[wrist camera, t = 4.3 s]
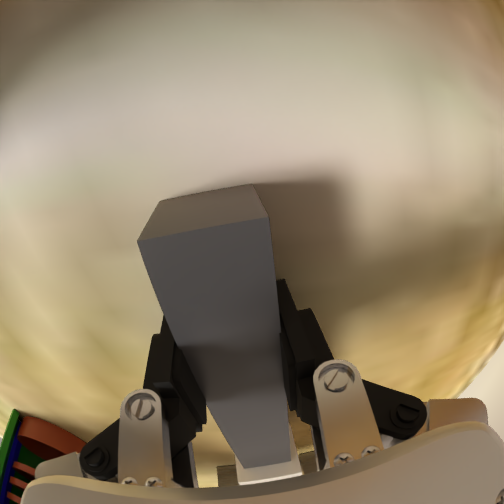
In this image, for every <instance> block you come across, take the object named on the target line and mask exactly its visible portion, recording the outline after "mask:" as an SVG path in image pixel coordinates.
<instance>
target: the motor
mask: <svg viewBox="0 0 504 504" xmlns="http://www.w3.org/2000/svg"><path fill="white" fill-rule="evenodd" d="M18 416H19V412H17V411H16V410H15V409H13V411H12V413H11V416H10V419H9V421H8V424H7V427H6V430H5V433H4V436H3V439H2V442H1V446H0V504H20V503H21V498H22V495H23V492H24V490H25V488H26V486H27V485H28V484H29V483H30V482H31V481H33V480H35V470H36V467H37V466H38V465H39V464H40V463H42V462H45V461H48V460H51V459H54V458H58V457H61V456H64V455H67V454H70V453H73V452H77V453H80V452H81V450H82V448H83V447H84V446H85V445H86V443H85V442H84V441H82V440H81V439H80V438H78V437H76V436H75V435H73V434H71V433H70V432H68V431H66V430H64V429H62V428H60V427H58V426H56V425H54V424H51V423H49V422H47V421H44V420H42V419H39V418H35V417H30V416H26V417H24V418H23V420H22V422H20V421H19V419H18Z"/></svg>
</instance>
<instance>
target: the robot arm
mask: <svg viewBox="0 0 504 504" xmlns="http://www.w3.org/2000/svg"><path fill="white" fill-rule="evenodd" d="M276 286H277V296H278V306H279V316H280V327H281V333H279V337H280V347H281V357H282V368H283V379H284V389H285V393H286V397H287V400H288V404H289V408H290V411H293V410H296V413H297V417H300V418H301V421H303V422H305V423H307V424H309V425H310V427H311V433H312V439H313V445H314V451H315V457H316V463H317V470H318V471H317V472H313V473H309V474H305V475H300V476H296V477H291V478H286V479H280V480H275V481H269V482H262V483H255V484H247V485H238V486H226V487H209V488H199V487H198V481H197V474H196V468H195V461H194V454H193V447H192V441H191V440H193V439H194V438H195V437H196V432H202V424H206V422H207V416H206V399H205V397H204V395H203V394H202V392H201V390H200V388H199V386H198V384H197V382H196V380H195V377H194V375H193V373H192V371H191V369H190V367H189V365H188V363H187V361H186V358H185V356H184V354H183V352H182V350H181V349H179V348H178V346H177V344H176V342H175V339H174V337H173V335H172V333H171V330H170V328H169V326H168V323H167V321H166V318H165V316H163V321H162V326H161V332H160V334H154V335H153V336H152V340H151V345H150V350H149V356H148V361H147V367H146V373H145V379H144V385H143V389H139V390H135V391H133V392H131V393H129V394H128V395H127V396H126V397H125V398H124V400H123V402H122V404H121V409H120V418H119V419H118V420H117V421H115V422H114V423H113V424H112V425H110V426H109V427H108V428H106V429H105V430H104V431H103V432H101V433H100V434H99V435H97V436H96V437H95V438H93V439H92V440H91V441H90V442H88V443H87V444H86V445H85V446H84V447H83V448H82V450H81V452H80V453H77V452H73V453H70V454H67V455H64V456H61V457H58V458H54V459H51V460H48V461H45V462H42V463H40V464H39V465H38V466H37V467H36V470H35V480H33V481H31V482H30V483H29V484H28V485H27V486H26V488H25V490H24V492H23V495H22V498H21V503H20V504H504V442H503V441H502V439H501V438H500V437H499V435H498V434H497V433H496V432H495V431H494V430H493V429H492V428H491V427H490V426H488V416H487V410H486V406H485V404H484V403H483V402H482V401H481V400H479V399H477V398H461V399H430V400H429V401H428V402H422V401H421V400H420V399H419V398H417V397H414V396H412V395H408V394H405V393H402V392H399V391H396V390H393V389H389V388H386V387H383V386H380V385H377V384H375V383H372V382H369V381H366V380H363V379H361V376H360V373H359V371H358V370H357V368H356V367H355V366H354V365H353V364H352V363H350V362H348V361H345V360H339V359H337V360H334V358H333V356H332V353H331V351H330V349H329V347H328V344H327V342H326V340H325V338H324V335H323V333H322V331H321V329H320V327H319V324H318V322H317V320H316V318H315V316H314V313H313V311H312V310H311V309H310V308H308V309H304V310H299V311H297V309H296V307H295V304H294V302H293V299H292V297H291V294H290V292H289V289H288V287H287V284H286V282H285V279H281V280H276Z"/></svg>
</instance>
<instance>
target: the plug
mask: <svg viewBox="0 0 504 504" xmlns="http://www.w3.org/2000/svg"><path fill="white" fill-rule="evenodd" d="M137 243H138V246H139V249H140V252H141V255H142V258H143V261H144V264H145V267H146V269H147V272H148V275H149V278H150V280H151V283H152V286H153V288H154V291H155V294H156V296H157V299H158V301H159V304H160V306H161V309H162V311H163V314H164V316H165V318H166V321H167V323H168V326H169V328H170V330H171V333H172V335H173V337H174V339H175V342H176V344H177V346H178V348H179V349H181V350H182V352H183V354H184V356H185V358H186V361H187V363H188V365H189V367H190V369H191V371H192V373H193V375H194V377H195V380H196V382H197V384H198V386H199V388H200V390H201V392H202V394H203V395H204V397H205V399H206V405H207V407H208V409H209V410H210V412H211V414H212V416H213V418H214V420H215V421H216V423H217V425H218V427H219V428H220V430H221V432H222V434H223V435H224V437H225V439H226V440H227V442H228V444H229V445H230V447H231V449H232V450H233V452H234V453H235V461H236V470H237V478H238V483H239V484H240V485H247V484H255V483H262V482H269V481H275V480H280V479H286V478H291V477H296V476H300V475H302V470H301V466H300V462H299V458H298V454H297V450H296V446H295V442H294V438H293V434H292V430H291V425H290V423H289V422H288V408H287V397H286V393H285V389H284V379H283V368H282V357H281V347H280V337H279V333H281V327H280V316H279V306H278V296H277V286H276V277H275V267H274V258H273V249H272V240H271V231H270V222H269V216H268V214H267V212H266V210H265V208H264V206H263V204H262V202H261V200H260V198H259V197H258V195H257V193H256V191H255V189H254V187H253V185H252V184H247V185H241V186H235V187H229V188H224V189H218V190H213V191H207V192H202V193H197V194H192V195H187V196H182V197H177V198H172V199H167V200H163V201H160V202H159V203H158V205H157V207H156V208H155V210H154V212H153V214H152V215H151V217H150V219H149V220H148V222H147V224H146V226H145V228H144V229H143V231H142V233H141V235H140V237H139V238H138V240H137Z"/></svg>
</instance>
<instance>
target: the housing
mask: <svg viewBox="0 0 504 504" xmlns="http://www.w3.org/2000/svg"><path fill="white" fill-rule="evenodd" d="M299 462H300V466H301V470H302V475H305V474H309V473H313V472H317V471H318V470H317V463H316V457H315V451H312V452H308V453H304V454H299ZM217 475H218V486H219V487H226V486H238V485H240V484H239V483H238V478H237V470H236V465H232V466H221V467H217Z"/></svg>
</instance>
